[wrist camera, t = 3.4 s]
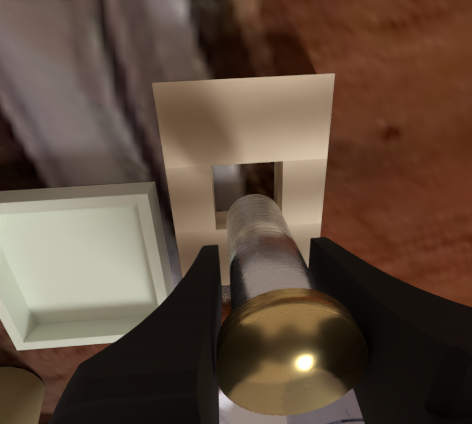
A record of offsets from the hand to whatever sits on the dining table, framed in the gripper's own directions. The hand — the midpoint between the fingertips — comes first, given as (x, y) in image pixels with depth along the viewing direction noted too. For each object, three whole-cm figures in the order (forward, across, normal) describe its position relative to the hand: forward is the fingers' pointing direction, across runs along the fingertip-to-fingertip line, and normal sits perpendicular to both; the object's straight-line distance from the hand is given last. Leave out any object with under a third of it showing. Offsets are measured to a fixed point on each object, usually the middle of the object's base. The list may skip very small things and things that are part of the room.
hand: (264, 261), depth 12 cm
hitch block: (+10, 0, 0) cm, 10 cm away
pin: (+4, 0, 0) cm, 4 cm away
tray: (+10, +13, +6) cm, 18 cm away
